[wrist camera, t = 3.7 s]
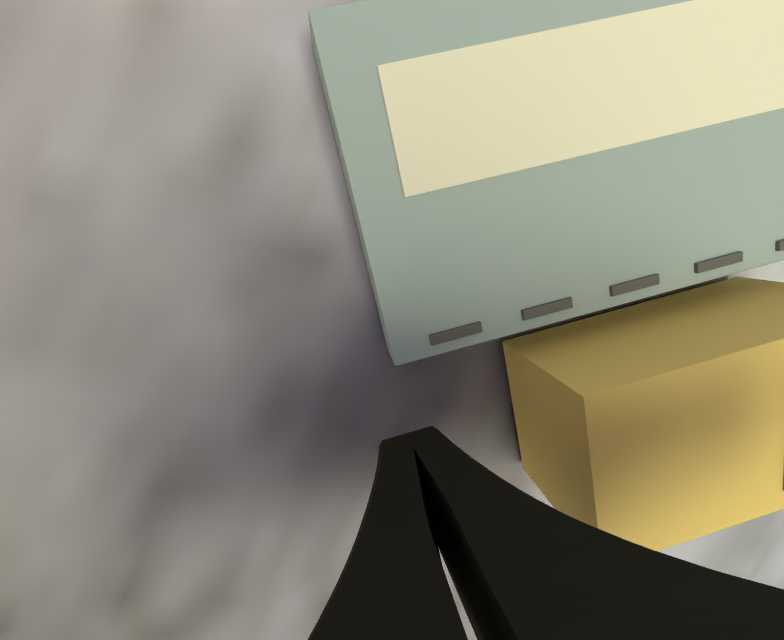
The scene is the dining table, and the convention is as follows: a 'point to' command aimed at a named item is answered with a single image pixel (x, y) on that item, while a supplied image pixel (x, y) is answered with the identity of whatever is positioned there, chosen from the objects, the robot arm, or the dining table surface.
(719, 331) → the stub
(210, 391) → the dining table surface
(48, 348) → the dining table surface
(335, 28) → the ticket pad
